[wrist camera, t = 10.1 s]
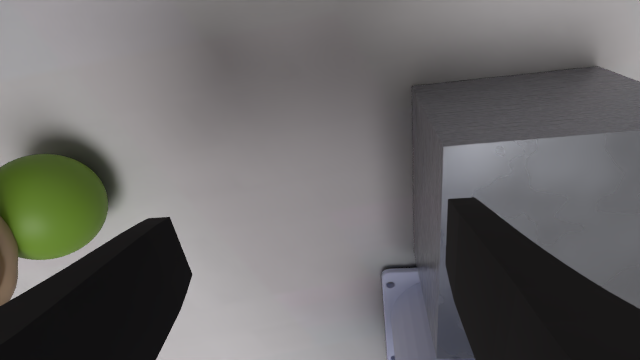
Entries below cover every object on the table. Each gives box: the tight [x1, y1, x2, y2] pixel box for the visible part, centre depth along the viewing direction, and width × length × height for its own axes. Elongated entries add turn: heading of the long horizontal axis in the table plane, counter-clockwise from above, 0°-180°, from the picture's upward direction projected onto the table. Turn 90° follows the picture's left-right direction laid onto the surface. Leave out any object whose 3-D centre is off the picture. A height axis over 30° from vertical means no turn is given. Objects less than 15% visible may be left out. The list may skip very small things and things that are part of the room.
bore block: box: [412, 66, 640, 359], centre depth 16 cm, size 10×8×7 cm
